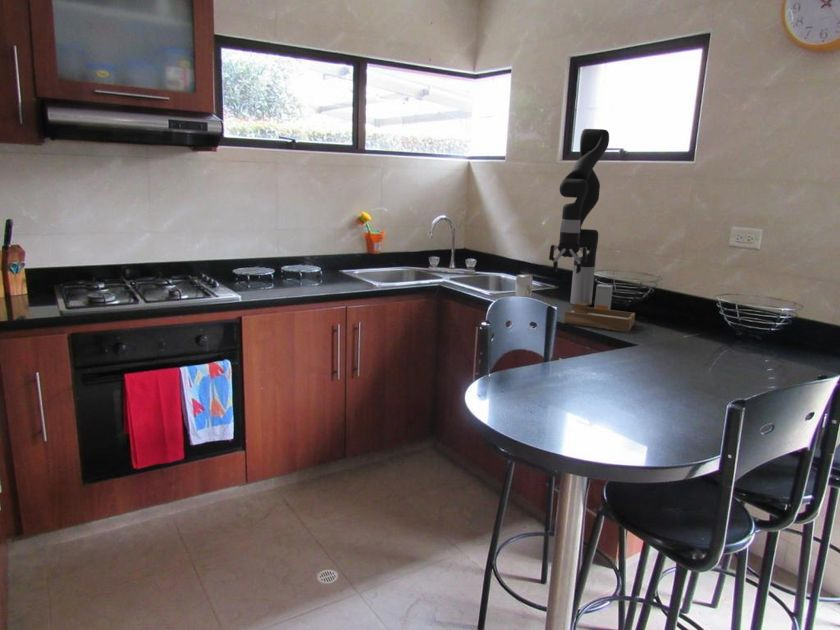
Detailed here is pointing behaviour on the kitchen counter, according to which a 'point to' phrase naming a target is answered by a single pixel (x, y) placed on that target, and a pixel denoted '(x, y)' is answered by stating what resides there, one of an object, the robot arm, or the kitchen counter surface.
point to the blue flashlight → (523, 285)
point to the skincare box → (603, 296)
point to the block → (581, 308)
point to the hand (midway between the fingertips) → (566, 272)
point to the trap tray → (602, 319)
